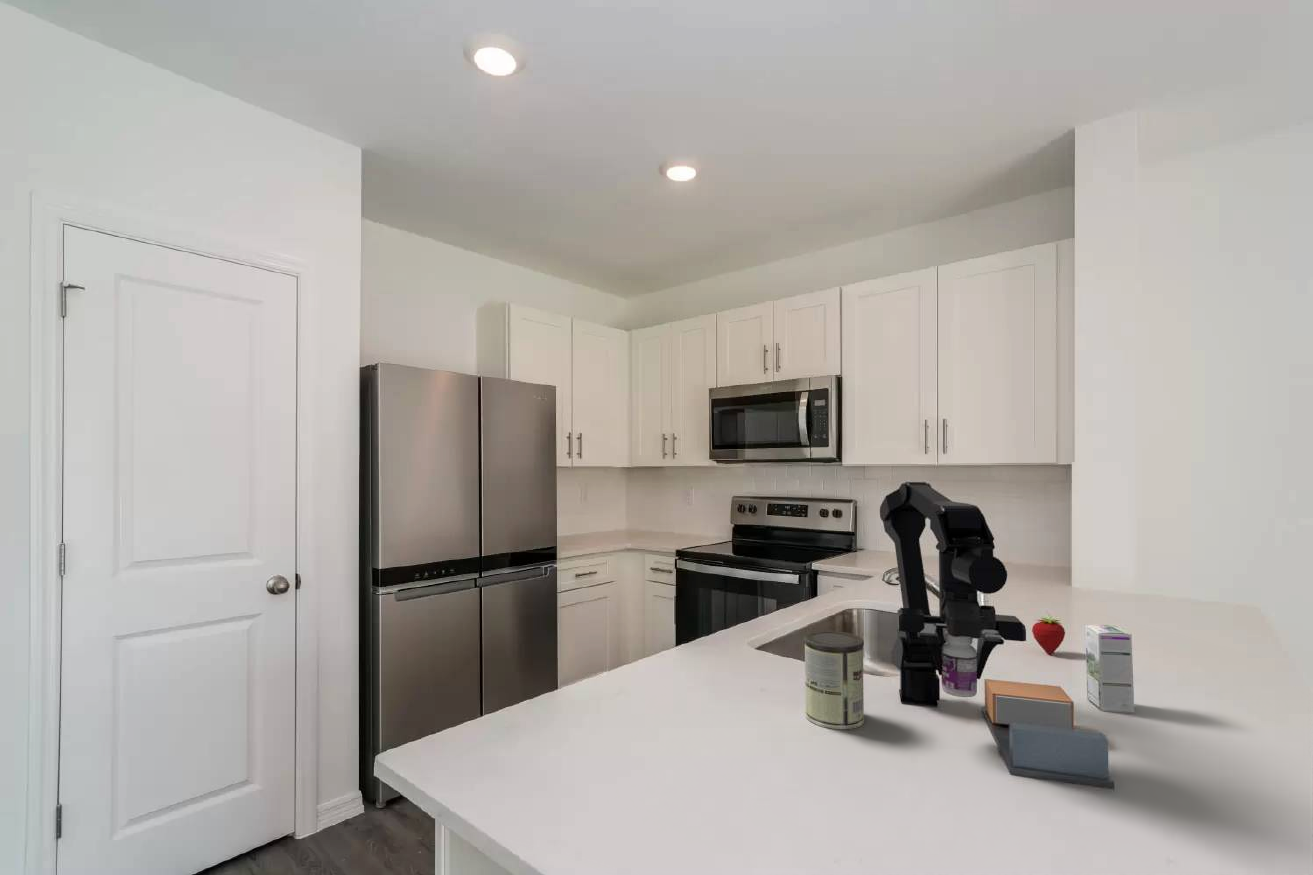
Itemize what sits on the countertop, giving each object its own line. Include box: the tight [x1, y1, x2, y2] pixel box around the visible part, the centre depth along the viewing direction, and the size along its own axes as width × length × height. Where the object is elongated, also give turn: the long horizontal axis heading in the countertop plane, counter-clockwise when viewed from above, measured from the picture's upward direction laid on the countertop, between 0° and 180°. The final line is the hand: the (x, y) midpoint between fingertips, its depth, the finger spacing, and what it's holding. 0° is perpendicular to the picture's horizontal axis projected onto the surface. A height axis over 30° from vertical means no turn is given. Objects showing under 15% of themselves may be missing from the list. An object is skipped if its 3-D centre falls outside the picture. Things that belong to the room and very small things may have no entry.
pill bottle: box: [941, 630, 978, 698], centre depth 105 cm, size 5×5×10 cm
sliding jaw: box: [984, 678, 1075, 730], centre depth 110 cm, size 8×12×5 cm, turn 72°
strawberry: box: [1031, 610, 1066, 656], centre depth 152 cm, size 6×8×10 cm
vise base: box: [980, 706, 1115, 790], centre depth 103 cm, size 24×13×6 cm, turn 162°
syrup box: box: [1085, 624, 1135, 714], centre depth 120 cm, size 6×6×14 cm
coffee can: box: [803, 630, 865, 730], centre depth 114 cm, size 10×10×14 cm
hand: (959, 676), depth 105 cm, fingers closed on pill bottle, 5 cm apart
